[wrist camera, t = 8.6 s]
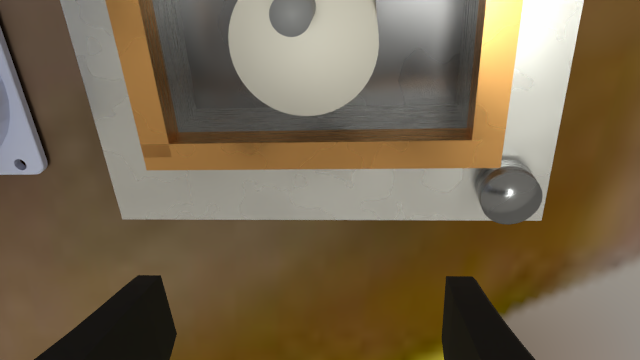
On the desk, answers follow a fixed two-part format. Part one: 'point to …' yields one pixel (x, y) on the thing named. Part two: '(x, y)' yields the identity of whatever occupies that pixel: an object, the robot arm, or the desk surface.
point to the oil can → (304, 51)
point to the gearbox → (330, 114)
